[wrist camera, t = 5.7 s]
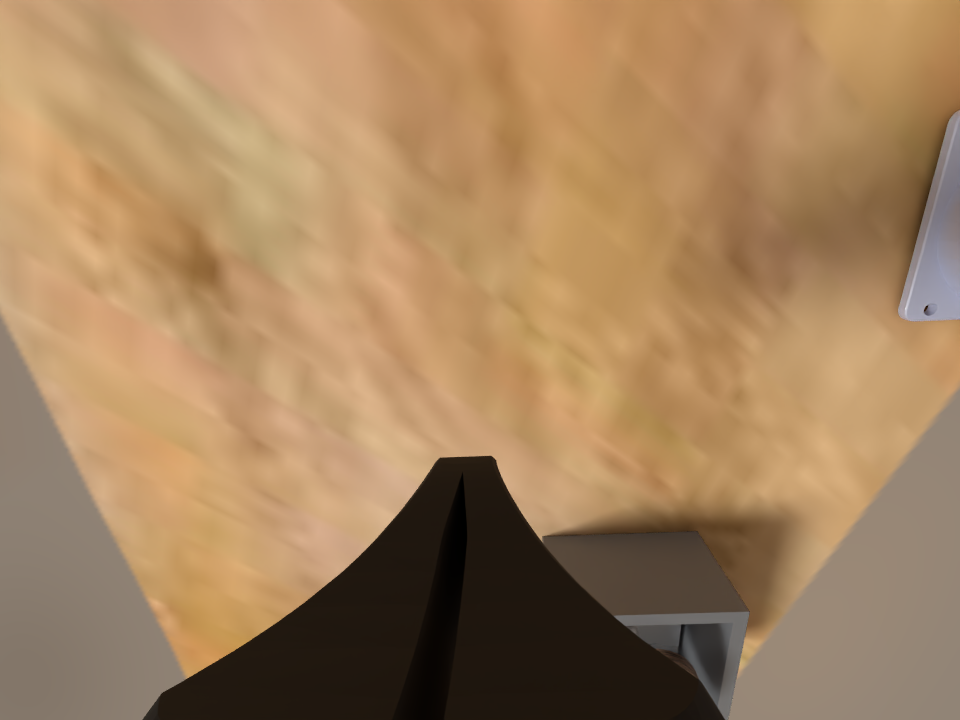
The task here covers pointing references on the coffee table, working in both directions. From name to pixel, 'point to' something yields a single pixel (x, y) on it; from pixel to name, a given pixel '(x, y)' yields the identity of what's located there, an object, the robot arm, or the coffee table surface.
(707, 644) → the open grey square tray
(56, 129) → the coffee table surface
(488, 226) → the coffee table surface
